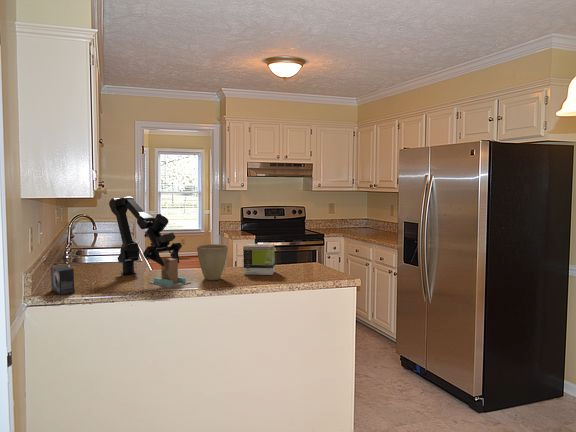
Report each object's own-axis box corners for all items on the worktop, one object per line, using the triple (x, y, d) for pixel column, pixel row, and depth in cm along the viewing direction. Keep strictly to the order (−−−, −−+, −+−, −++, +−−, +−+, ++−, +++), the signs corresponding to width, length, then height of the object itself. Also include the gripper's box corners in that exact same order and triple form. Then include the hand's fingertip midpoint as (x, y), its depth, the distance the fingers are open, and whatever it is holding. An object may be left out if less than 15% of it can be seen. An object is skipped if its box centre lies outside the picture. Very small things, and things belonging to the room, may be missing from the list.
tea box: (274, 271, 255) (275, 243, 253) (272, 275, 245) (272, 246, 243) (246, 270, 256) (246, 243, 255) (243, 274, 246) (243, 245, 245)
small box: (50, 290, 210) (49, 266, 209) (65, 288, 215) (65, 264, 214) (59, 295, 202) (58, 270, 202) (75, 292, 207) (74, 268, 206)
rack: (148, 282, 227) (148, 277, 226) (169, 278, 236) (169, 273, 236) (170, 287, 217) (170, 282, 217) (190, 283, 226) (190, 278, 226)
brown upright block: (161, 281, 227) (161, 258, 226) (168, 280, 230) (168, 257, 229) (170, 284, 223) (170, 260, 222) (177, 282, 226) (177, 259, 225)
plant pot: (233, 279, 236) (233, 246, 234) (207, 283, 226) (207, 249, 224) (217, 274, 247) (216, 243, 245) (191, 278, 237) (190, 245, 236)
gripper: (146, 228, 219) (162, 255, 213) (179, 225, 234) (194, 250, 228) (136, 244, 225) (151, 271, 219) (169, 240, 239) (184, 265, 234)
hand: (171, 264), depth 225 cm, fingers open, 8 cm apart
